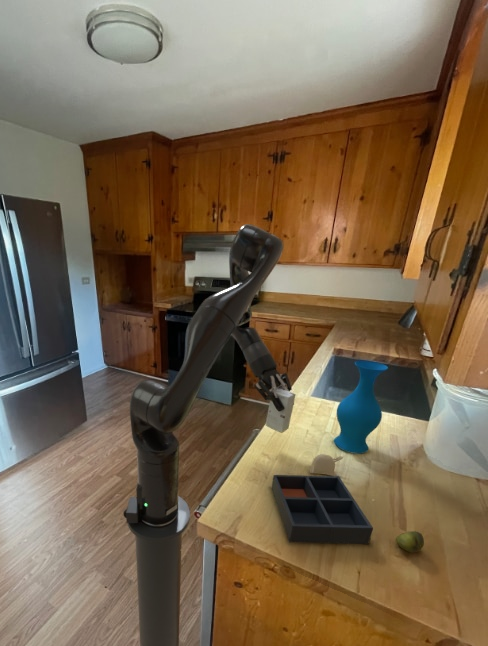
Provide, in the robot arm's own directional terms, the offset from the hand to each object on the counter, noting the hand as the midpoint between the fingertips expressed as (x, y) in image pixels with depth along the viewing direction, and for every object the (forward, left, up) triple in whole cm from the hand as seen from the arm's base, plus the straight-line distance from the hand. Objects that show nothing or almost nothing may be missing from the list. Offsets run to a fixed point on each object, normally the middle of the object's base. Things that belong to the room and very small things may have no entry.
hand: (286, 407), depth 98 cm
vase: (+24, +3, -15) cm, 29 cm away
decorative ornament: (+10, -11, -15) cm, 21 cm away
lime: (+18, -37, -15) cm, 43 cm away
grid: (+1, -27, -15) cm, 31 cm away
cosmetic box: (-1, +1, -8) cm, 8 cm away
